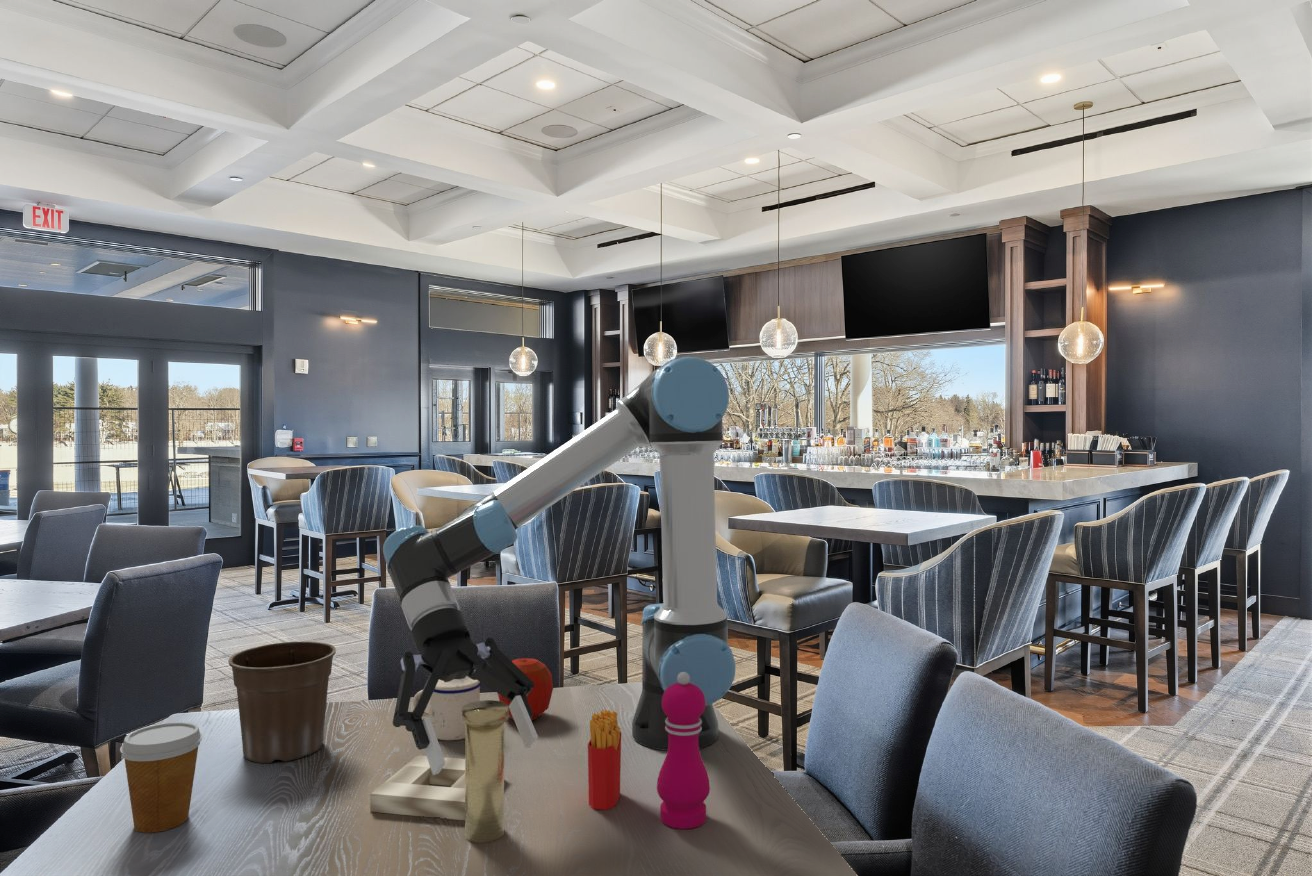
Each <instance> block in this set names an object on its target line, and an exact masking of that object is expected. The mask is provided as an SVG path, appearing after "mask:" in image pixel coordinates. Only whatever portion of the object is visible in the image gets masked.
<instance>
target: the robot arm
mask: <svg viewBox="0 0 1312 876" xmlns="http://www.w3.org/2000/svg"><path fill="white" fill-rule="evenodd" d="M729 400H730V392H729V387H728V384H727V379H726V378H725V377H724V375H723V373H722V372H721V370H720V369H719V368H717V367H716V366H715V365H714V364H713V363H711V362H710V361H708V360H706V359H703V358H700V357H696V356H695V357H694V356H683V357H675V358H673V359H670V360H669V361H666V362H665V363H663V364H662V365H661V366H659V367H658V368H656V369H655V370H653V371H652V372H651V373H649V375H648V376H647V377H646V378H645V379H643V380H642V382H640V384H638V385H637V386H636V387H635V388H634V389H633V390H631V391H630V392H629V393H628V394H626V395H625V396H623V397H622V398H620V399H619V400H618V401H617V402H616V407H615V409H614V410H613V411H611V412H610V413H608V414H606V415H605V416H603V418H601V419H599V420H598V421H596V422H594V423H593V424H592V425H590V426H589V427H588V428H586V429H584V430H583V431H581V432H580V433H579V434H577V435H575V436H574V437H572V438H571V439H569V440H568V441H567V442H565V443H564V444H562V445H560V446H559V447H558V448H556V449H554V450H553V451H551V452H550V453H548V454H547V455H545V456H544V457H542V458H541V459H540V460H538V461H537V462H535V463H533V464H532V465H531V466H529V467H527V468H526V469H525V470H523V471H522V472H520V473H519V474H518V475H516V476H514V477H513V478H511V479H510V480H508V481H507V482H505V483H503V484H502V485H501V486H500V487H498V488H496V489H495V490H494V491H492V492H490V493H489V494H487V495H486V496H484V497H483V498H481V499H480V500H478V501H477V502H476V503H472V504H470V505H469V506H467V507H466V508H465V509H463V511H462V512H461V513H460V515H459V516H458V517H457V518H455V519H453V520H451V521H448V522H447V523H446V524H444V525H442V526H440V527H438V528H436V529H434V530H431V531H429V530H428V529H427V528H426V527H424V526H421V525H414V524H413V525H410V526H408V527H401V528H398V529H396V530H395V531H394V532H392V533H391V534H390V535H389V536H388V537H387V538H386V539H385V541H384V543H383V545H382V546H383V547H382V553H383V557H384V561H385V563H386V569H387V573H388V574H389V576H390V580H391V582H392V584H393V587H394V589H395V591H396V595H397V596H398V599H399V603H400V607H401V608H402V611H403V615H404V616H405V619H406V620H405V621H406V622H407V625H408V628H409V629H410V631H411V637H412V639H413V643H414V646H415V648H416V650H417V653H418V654H413V652H412V651H406V652H405V653H404V655H403V656H402V657H401V659H400V662H399V663H398V667H399V671H400V682H399V686H398V692H397V697H396V703H395V706H394V707H395V708H394V713H393V719H392V725H393V727H395V728H400V727H401V726H402V727H405V730H406V731H407V732H411V733H412V734H411V735H412V737H413V739H414V743H415V746H416V748H417V749H418V750H419V751H421V750H423V751H424V752H425V756H427V759H428V762H429V765H430V768H431V771H432V774H433V775H436V774H439V772H440V771H441V769H442V768H443V766H444V765H445V760H444V755H443V752H442V751H443V750H442V748H441V746H440V743H439V741H438V740H439V739H437V737H436V734H435V731H434V729H433V726H432V723H431V720H430V717H425V718H422V716H423V713H424V712H425V711H426V709H427V706H428V705H429V700H430V698H431V696H432V694H433V691H434V689H435V687H436V685H437V683H438V680H442V681H444V682H449V681H452V680H453V679H464V678H465V677H466V676H468V677H469V678H471V679H472V680H478V681H480V682H481V684H483V685H484V686H487V687H488V688H489V689H491V690H492V691H494V692H495V693H496V694H498V693H499V694H500V695H502V696H503V697H505V698H506V699H508V700H510V701H511V704H510V705H509V706H508V707H509V709H510V711H511V714H512V716H513V719H514V720H513V719H512V720H513V721H514V723H515V725H516V728H517V730H518V732H519V733H518V734H519V736H520V738H521V741H522V743H523V745H524V748H525V749H529V748H531V747H533V745H534V743H535V742H536V741H537V740H538V738H539V735H538V734H537V731H536V728H535V726H534V723H533V722H532V721H533V720H532V721H531V718H532V717H533V712H532V710H531V707H530V705H529V703H528V700H527V698H526V697H527V696H528V694H529V693H530V692H531V690H532V689H533V687H534V682H533V681H532V680H531V679H530V678H528V677H527V676H526V675H525V674H524V673H523V672H522V671H521V670H520V669H519V668H518V667H517V666H516V665H515V664H514V663H513V662H512V661H513V660H511V659H510V658H509V657H508V656H507V655H506V654H505V653H503V651H501V650H500V648H499V647H498V645H497V643H496V641H495V639H494V638H493V637H487V638H486V639H485V641H484V642H483V641H482V642H480V643H475V642H474V641H473V640H472V639H471V634H470V630H469V626H468V624H467V622H466V619H465V617H464V614H463V612H462V611H461V608H460V604H459V602H458V599H457V597H456V594H455V593H454V591H453V588H452V585H451V583H450V580H449V578H451V577H453V576H455V575H458V574H459V573H460V572H462V571H464V570H466V569H467V568H470V567H471V566H474V565H476V564H478V563H479V562H482V561H483V560H485V559H487V558H490V557H491V556H493V555H495V554H497V553H498V554H499V553H501V552H502V551H503V550H505V549H506V548H507V547H509V546H511V545H513V544H514V543H515V542H516V541H517V540H518V532H517V531H516V530H517V529H519V528H520V527H522V526H524V525H525V524H527V522H529V521H531V520H532V519H533V518H535V517H537V516H538V515H540V514H541V513H543V512H545V510H547V509H549V508H550V507H551V506H553V505H554V504H556V503H558V502H559V501H560V500H562V499H564V497H566V496H568V495H569V494H571V493H572V492H574V491H575V490H577V489H578V488H579V487H581V486H583V485H584V484H586V483H587V482H589V481H590V480H592V479H593V478H594V477H597V476H598V475H599V474H600V473H602V472H604V471H605V470H606V469H607V468H609V467H611V466H612V465H614V464H615V463H617V462H618V461H619V460H621V459H622V458H624V457H626V456H628V455H629V454H630V453H632V452H633V451H635V450H636V449H638V448H640V447H644V448H650V447H652V448H653V449H654V450H655V451H656V452H657V453H658V455H659V472H660V473H659V479H660V480H659V481H660V482H659V483H660V519H661V522H660V523H661V524H660V525H661V556H662V557H661V558H662V559H661V564H662V566H661V567H662V600H663V601H662V602H663V603H652V604H648V605H646V606H645V607H644V608H643V611H642V619H641V621H640V624H641V626H642V631H641V633H642V637H641V638H642V645H641V646H642V647H641V649H642V657H641V661H642V662H641V665H642V666H641V669H642V670H641V672H642V673H641V679H642V681H641V684H642V686H641V687H642V688H641V689H642V690H641V694H640V697H639V700H638V703H637V705H636V709H635V711H634V715H633V719H632V722H631V723H632V724H631V735H632V738H633V740H634V741H635V742H637V743H639V744H640V745H642V746H645V747H648V748H652V749H657V750H663V751H668V743H669V737H668V732H667V731H666V730H665V726H666V723H665V720H666V718H667V715H666V714H665V713H664V711H663V709H662V697H663V694H664V692H665V690H666V689H667V688H668V687H669V686H671V685H672V684H675V683H678V681H677V676H678V674H679V673H681V672H686V673H688V674H689V676H690V681H689V683H692V684H694V685H696V686H698V687H699V688H700V689H701V691H702V692H703V694H704V696H705V703H706V705H705V710H704V712H703V713H702V715H701V716H700V717H699V718H700V719H701V720H702V723H701V727H702V730H701V731H700V732H699V735H698V744H699V749H700V748H704V747H707V746H709V745H710V746H711V744H713V743H715V742H716V741H717V740H718V739H719V722H718V718H717V714H716V712H715V708H714V705H713V704H714V703H715V704H716V702H718V701H719V700H721V699H722V698H723V697H724V696H725V695H726V694H727V693H728V691H729V689H731V687H732V685H733V683H734V680H735V677H736V667H737V666H736V660H735V655H734V654H733V652H732V648H731V647H730V646H729V639H728V634H729V633H728V613H727V612H726V611H725V610H724V609H723V608H722V607H721V605H719V604H718V586H717V585H718V584H717V580H718V579H717V545H716V544H717V543H716V542H717V541H716V539H717V537H716V535H717V534H716V502H715V501H716V499H715V495H716V494H715V493H716V492H715V462H714V461H715V460H714V459H715V458H714V457H715V455H714V454H715V452H716V451H717V450H718V448H719V447H721V445H722V444H723V443H724V439H723V438H724V434H723V433H724V432H723V431H724V429H723V428H724V425H723V418H724V416H725V414H726V412H727V410H728V409H727V408H728V406H729ZM419 665H420V667H422V668H423V669H424V670H425V671H427V672H428V673H429V675H428V677H427V680H426V682H425V684H424V687H423V689H422V690H423V691H422V693H421V695H420V696H419V699H418V702H417V704H416V706H415V708H414V707H413V710H412V711H409V708H410V704H411V696H412V690H413V684H414V679H415V675H416V671H417V669H418V668H419ZM474 666H475V667H476V669H474Z"/></svg>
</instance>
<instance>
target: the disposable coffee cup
mask: <svg viewBox="0 0 1312 876" xmlns="http://www.w3.org/2000/svg"><path fill="white" fill-rule="evenodd" d="M199 728H200V727H199V726H198V724H195V723H193V722H186V721H179V722H178V721H174V722H173V721H171V722H164V723H158V724H153V725H148V726H144V727H142V728H139V729H136V730H134V731H132V732H130V733H129V734H127V735H126V736H125V737H124V739H123V744H122V745H121V746H120V748H119V753H120V754H122V758H123V759H124V764H125V771H126V779H127V781H126V782H127V785H128V786H127V787H128V791H129V801H130V805H131V806H130V807H131V815H132V820H133V829H134V830H135V831H136V832H139V833H148V834H149V833H158V832H165V831H167V830H171V829H173V828H176V827H179V826H180V825H182V824H183V823H185V822H186V821H187V820H188V819H189V816H190V815H189V814H190V809H191V808H190V807H191V800H192V793H193V786H194V779H195V774H196V773H195V772H196V765H197V758H198V750H199V746H200V744H201V741H203V733H201V732H200V731H201V730H200V729H199Z"/></svg>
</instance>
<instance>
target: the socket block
mask: <svg viewBox="0 0 1312 876" xmlns="http://www.w3.org/2000/svg"><path fill="white" fill-rule="evenodd" d="M443 757H444V756H443ZM444 760H445V765H444V766H443V768H442V769H441V771H440V772H439V774H436V775H433V774H432V771H431V768H430V765H429V762H428V759H427V756H426V755H416V756H415V757H414V758H412V759H411V760H410V761H409V762H408V763H406V764H405V765H404V766H402V767H401V768H400V769H399V770H398V771H396V772H395V773H394V774H392V776H390V777H389V778H388V779H387V780H386V781H384V782H383V783H382V784H380V785H379V786H377V788H375V789H374V790H373V791H372V792H370V795H369V796H370V799H369V801H370V803H369V806H370V810H369V811H370V812H371V813H379V814H383V813H384V814H391V815H392V814H393V815H401V816H402V815H403V816H413V817H414V816H415V817H423V816H424V817H427V818H434V817H440V818H439V819H445V818H446V819H448V820H455V821H456V820H458V821H465V758H454V757H444ZM424 817H423V818H424Z"/></svg>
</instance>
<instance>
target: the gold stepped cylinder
mask: <svg viewBox="0 0 1312 876" xmlns="http://www.w3.org/2000/svg"><path fill="white" fill-rule="evenodd" d="M508 719H509V715H508V705H507V704H506V703H504V702H501V701H499V700H493V699H491V700H490V699H489V700H488V699H487V700H486V699H485V700H480V701H477V702H472V703H469V704H466V705H465V706H463V707H462V723H463V724H465V739H464V740H465V744H464V747H465V748H464V749H465V751H464V753H465V756H464V759H465V820H464V837H465V840H466V841H469V842H471V843H476V844H483V843H484V844H485V843H490V842H494V841H497V840H498V839H500V838H502V837H503V836H504V833H505V722H507V721H508Z"/></svg>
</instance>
